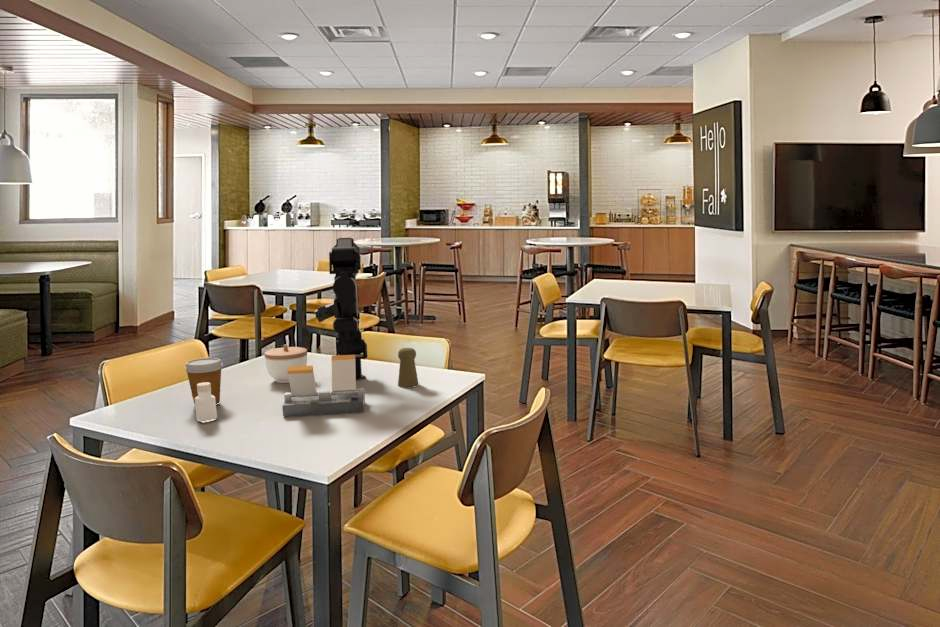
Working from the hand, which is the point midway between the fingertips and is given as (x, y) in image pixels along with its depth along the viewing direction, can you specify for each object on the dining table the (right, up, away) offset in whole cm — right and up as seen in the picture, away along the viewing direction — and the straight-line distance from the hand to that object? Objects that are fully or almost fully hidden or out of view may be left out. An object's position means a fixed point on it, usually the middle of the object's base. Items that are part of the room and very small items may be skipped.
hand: (348, 349), depth 184 cm
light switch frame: (-4, -15, -11) cm, 19 cm away
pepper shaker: (+15, -11, +11) cm, 22 cm away
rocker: (+1, -10, -11) cm, 15 cm away
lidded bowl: (-22, -11, +21) cm, 32 cm away
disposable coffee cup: (-37, -15, -4) cm, 41 cm away
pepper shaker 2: (-32, -17, -18) cm, 40 cm away
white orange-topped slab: (-9, -11, -12) cm, 19 cm away
